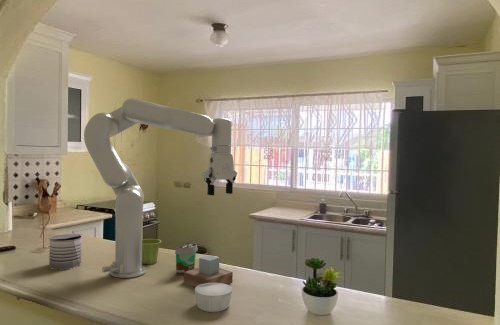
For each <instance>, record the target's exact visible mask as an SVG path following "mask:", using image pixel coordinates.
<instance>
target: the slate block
mask: <svg viewBox="0 0 500 325" xmlns="http://www.w3.org/2000/svg"><path fill="white" fill-rule="evenodd" d="M198 268H199V272H200V273H203V274H207V275H212V274H214V273H217V272H219V268H220V257H218V256H213V255H210V254H208V255H205V256H202V257H199V258H198Z"/></svg>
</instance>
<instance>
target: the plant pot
mask: <svg viewBox="0 0 500 325" xmlns="http://www.w3.org/2000/svg"><path fill="white" fill-rule="evenodd" d="M161 243H162V240H161V239H159V238H158V239H155V238H145V239H142V265H145V264H146V265H154V264H156V263H157V262H158V256H159V251H160V250H159V249H160V246H161Z"/></svg>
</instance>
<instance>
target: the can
mask: <svg viewBox="0 0 500 325" xmlns="http://www.w3.org/2000/svg"><path fill="white" fill-rule="evenodd" d="M82 235H83V233H78V232H77V233H65V234H58V235H54V236H50V237H48V239H49V256H48V257H49V260H48V261H49V262H48V264H49V265H48V267H50V268H49V269H51V268H53V269H52V270H54V269H60V270H59V271H61V270H62V271H63V270H64V269H65V270H71V269H70V268H72V269H75V268H77V267H76V266H78V265H80V263H81V264H82ZM80 266H81V265H80ZM74 267H75V268H74ZM78 267H79V266H78Z"/></svg>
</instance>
